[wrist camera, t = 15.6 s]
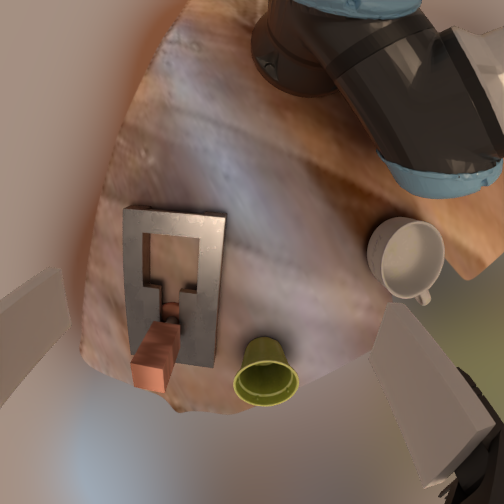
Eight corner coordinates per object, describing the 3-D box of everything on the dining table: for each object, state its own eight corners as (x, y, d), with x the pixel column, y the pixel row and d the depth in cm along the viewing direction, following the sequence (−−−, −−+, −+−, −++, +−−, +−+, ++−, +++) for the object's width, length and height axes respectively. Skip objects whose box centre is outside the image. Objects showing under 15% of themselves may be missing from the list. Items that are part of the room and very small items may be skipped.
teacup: (352, 224, 41) (373, 239, 33) (412, 201, 40) (441, 210, 32) (372, 303, 45) (391, 328, 37) (425, 279, 43) (450, 299, 36)
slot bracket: (227, 213, 40) (225, 218, 37) (215, 355, 47) (213, 368, 44) (132, 204, 40) (123, 208, 36) (137, 343, 47) (130, 354, 43)
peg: (192, 304, 44) (169, 365, 30) (191, 334, 46) (171, 398, 32) (157, 300, 44) (123, 356, 30) (158, 329, 46) (129, 389, 31)
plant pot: (282, 320, 45) (288, 352, 37) (298, 362, 48) (305, 396, 40) (227, 337, 46) (222, 371, 38) (247, 377, 49) (247, 412, 40)
